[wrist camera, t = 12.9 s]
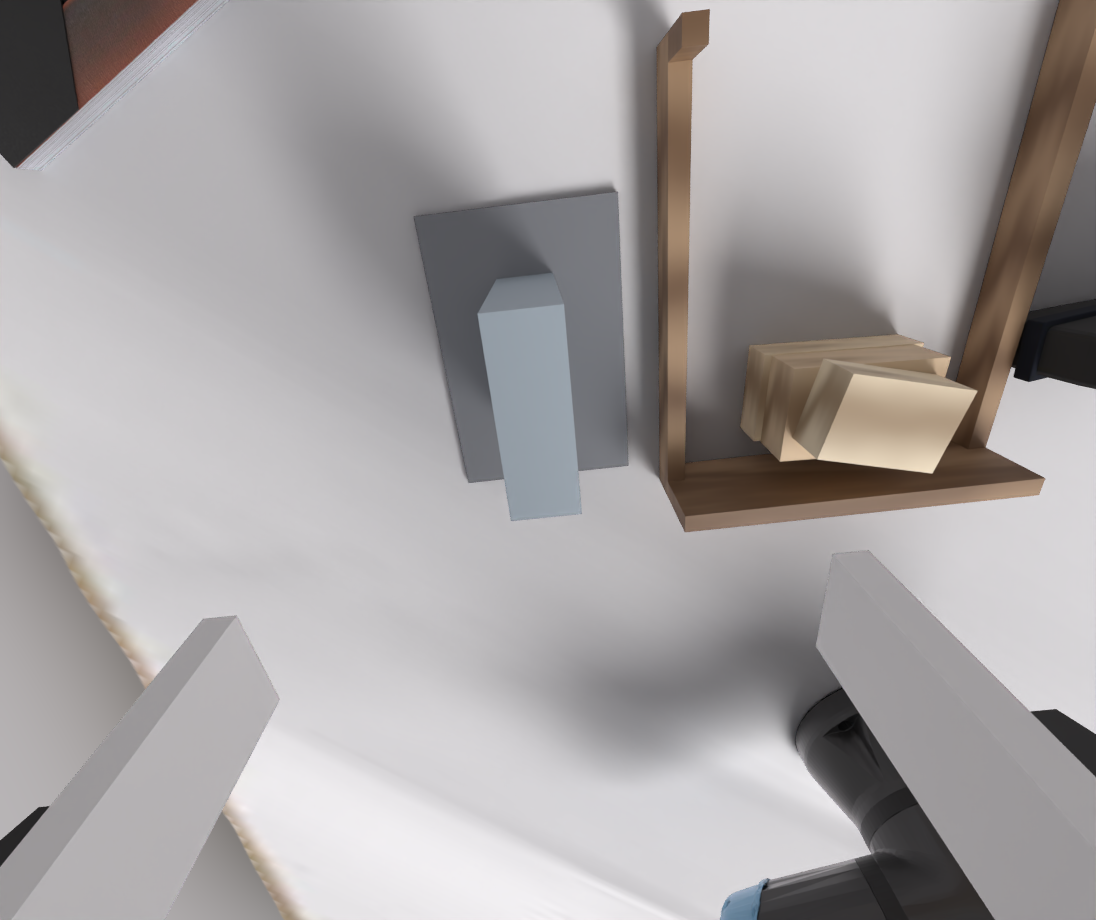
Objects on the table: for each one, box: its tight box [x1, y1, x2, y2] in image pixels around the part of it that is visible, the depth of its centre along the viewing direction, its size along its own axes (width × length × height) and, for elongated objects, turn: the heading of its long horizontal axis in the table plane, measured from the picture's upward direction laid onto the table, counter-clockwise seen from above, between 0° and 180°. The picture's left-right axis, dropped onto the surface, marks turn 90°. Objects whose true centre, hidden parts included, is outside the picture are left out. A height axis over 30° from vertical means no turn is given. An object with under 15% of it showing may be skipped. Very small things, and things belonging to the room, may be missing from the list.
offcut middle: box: [761, 345, 951, 462], centre depth 31 cm, size 6×9×3 cm, turn 94°
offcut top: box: [792, 359, 977, 473], centre depth 28 cm, size 5×7×3 cm
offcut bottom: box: [740, 334, 924, 441], centre depth 34 cm, size 6×10×3 cm, turn 94°
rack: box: [657, 0, 1096, 532], centre depth 29 cm, size 26×22×7 cm
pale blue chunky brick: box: [478, 273, 582, 521], centre depth 27 cm, size 10×4×12 cm, turn 6°
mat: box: [414, 192, 628, 483], centre depth 33 cm, size 18×12×1 cm, turn 6°
